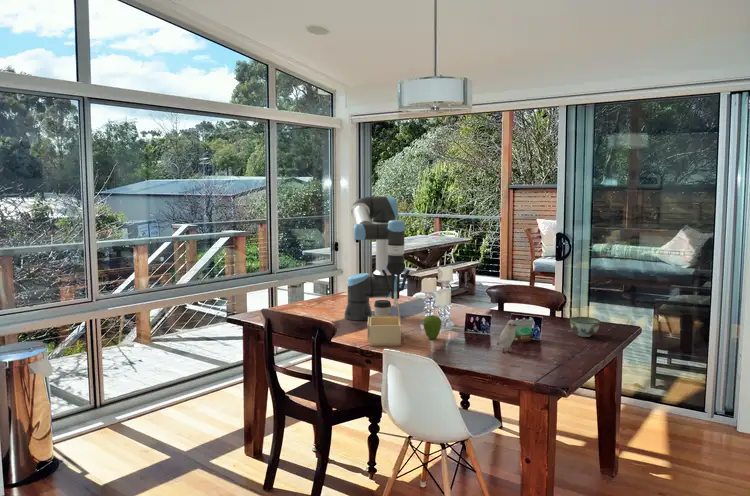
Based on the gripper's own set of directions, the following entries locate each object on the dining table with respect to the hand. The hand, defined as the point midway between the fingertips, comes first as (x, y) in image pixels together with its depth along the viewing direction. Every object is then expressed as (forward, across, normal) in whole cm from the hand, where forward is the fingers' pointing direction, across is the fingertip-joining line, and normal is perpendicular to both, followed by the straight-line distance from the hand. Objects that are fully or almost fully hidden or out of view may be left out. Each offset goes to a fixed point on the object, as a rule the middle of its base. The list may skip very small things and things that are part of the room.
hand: (395, 305), depth 283 cm
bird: (+16, +48, -19) cm, 54 cm away
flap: (+7, +2, 0) cm, 7 cm away
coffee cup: (+17, -6, +18) cm, 25 cm away
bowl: (+15, +89, +10) cm, 91 cm away
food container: (+16, +60, +1) cm, 62 cm away
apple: (+16, +18, +4) cm, 24 cm away
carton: (+17, -4, 0) cm, 17 cm away
